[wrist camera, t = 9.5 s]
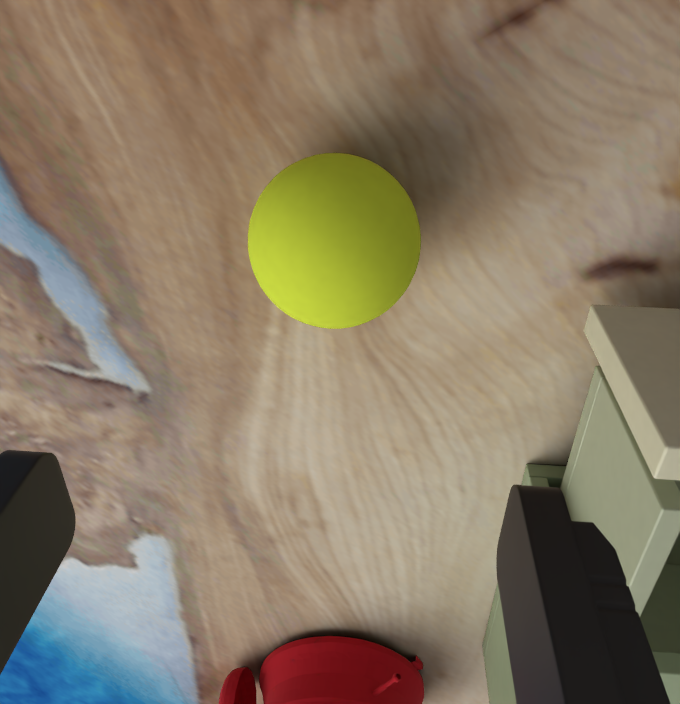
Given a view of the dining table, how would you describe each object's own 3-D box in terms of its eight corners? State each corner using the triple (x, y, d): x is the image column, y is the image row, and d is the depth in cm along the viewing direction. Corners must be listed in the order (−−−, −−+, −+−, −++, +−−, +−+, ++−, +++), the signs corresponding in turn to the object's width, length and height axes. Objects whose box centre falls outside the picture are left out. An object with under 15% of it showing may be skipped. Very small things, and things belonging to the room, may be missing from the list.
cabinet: (526, 463, 28) (575, 666, 21) (811, 481, 28) (978, 699, 20) (482, 644, 37) (505, 841, 29) (702, 663, 36) (789, 869, 28)
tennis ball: (424, 135, 21) (432, 190, 16) (412, 284, 24) (415, 366, 19) (260, 130, 21) (221, 182, 17) (269, 277, 24) (237, 357, 20)
